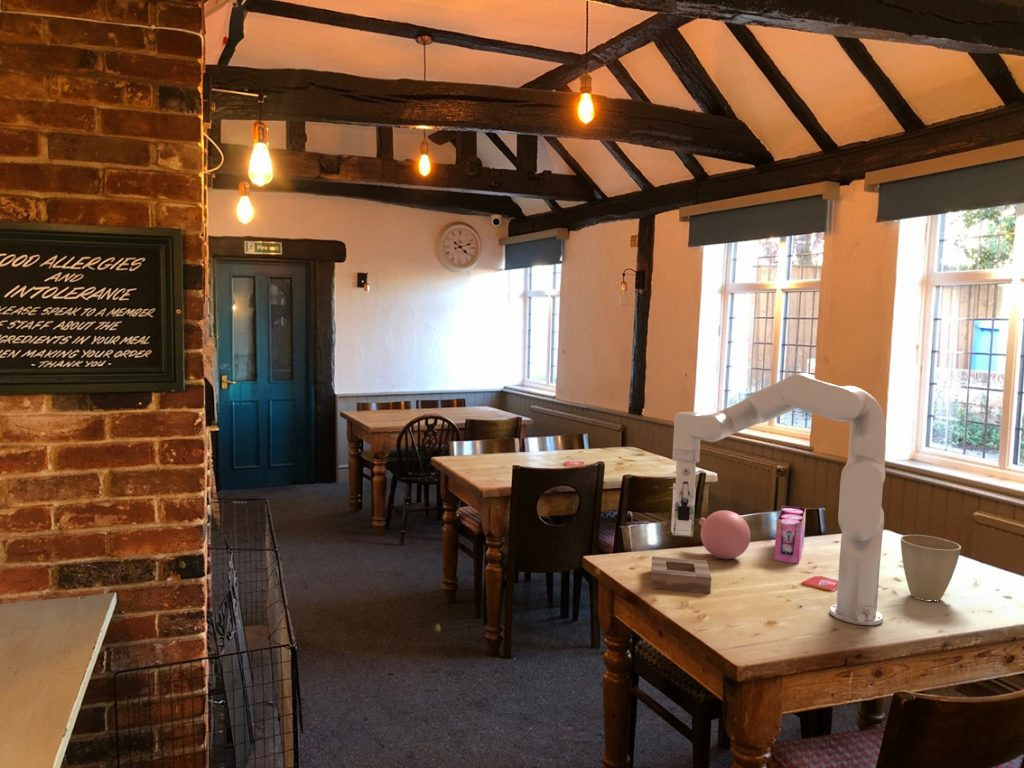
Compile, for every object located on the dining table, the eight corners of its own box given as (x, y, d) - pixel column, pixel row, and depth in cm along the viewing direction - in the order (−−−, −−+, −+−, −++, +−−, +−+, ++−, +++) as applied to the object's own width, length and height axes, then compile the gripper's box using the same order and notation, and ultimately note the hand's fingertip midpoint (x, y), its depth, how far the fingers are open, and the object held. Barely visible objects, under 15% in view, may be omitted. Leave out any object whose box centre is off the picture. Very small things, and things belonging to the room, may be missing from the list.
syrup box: (690, 532, 224) (693, 482, 223) (693, 537, 218) (695, 487, 217) (670, 530, 224) (673, 481, 223) (672, 536, 218) (675, 486, 217)
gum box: (799, 565, 242) (801, 523, 241) (772, 561, 245) (775, 520, 244) (804, 546, 264) (806, 508, 263) (779, 543, 267) (782, 505, 266)
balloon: (720, 545, 261) (722, 501, 260) (759, 563, 243) (762, 515, 242) (681, 549, 256) (684, 503, 254) (719, 567, 237) (721, 518, 236)
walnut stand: (710, 593, 213) (711, 577, 212) (651, 588, 215) (652, 572, 215) (705, 575, 229) (706, 560, 228) (651, 570, 231) (652, 556, 231)
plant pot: (925, 609, 206) (929, 550, 205) (884, 590, 221) (888, 535, 219) (969, 605, 210) (974, 548, 209) (927, 587, 225) (931, 533, 223)
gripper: (701, 461, 210) (698, 525, 212) (697, 451, 227) (694, 511, 228) (673, 459, 211) (670, 523, 213) (671, 449, 228) (668, 509, 230)
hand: (682, 516), depth 221 cm, fingers closed on syrup box, 6 cm apart
